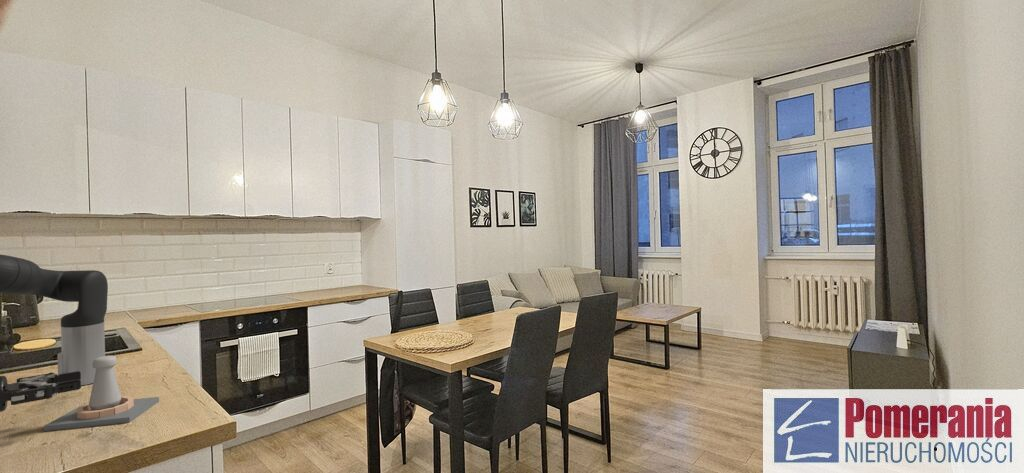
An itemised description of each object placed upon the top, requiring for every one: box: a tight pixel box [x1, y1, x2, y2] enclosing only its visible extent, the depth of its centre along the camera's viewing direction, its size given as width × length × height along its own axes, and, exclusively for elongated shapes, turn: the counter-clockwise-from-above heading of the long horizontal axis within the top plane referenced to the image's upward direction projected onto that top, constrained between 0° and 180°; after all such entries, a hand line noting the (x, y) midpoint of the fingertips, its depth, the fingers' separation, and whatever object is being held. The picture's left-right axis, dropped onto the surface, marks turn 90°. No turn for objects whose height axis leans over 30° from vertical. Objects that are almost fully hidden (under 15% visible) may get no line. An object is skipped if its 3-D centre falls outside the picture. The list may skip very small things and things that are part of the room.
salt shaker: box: [88, 355, 122, 411], centre depth 105 cm, size 6×6×13 cm
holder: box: [43, 395, 160, 432], centre depth 106 cm, size 16×13×3 cm
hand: (80, 379), depth 103 cm, fingers open, 8 cm apart
